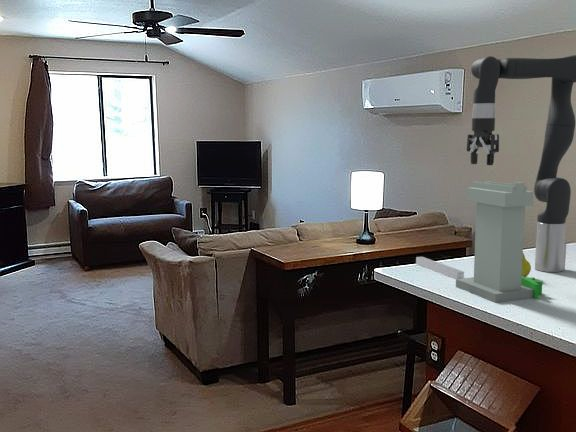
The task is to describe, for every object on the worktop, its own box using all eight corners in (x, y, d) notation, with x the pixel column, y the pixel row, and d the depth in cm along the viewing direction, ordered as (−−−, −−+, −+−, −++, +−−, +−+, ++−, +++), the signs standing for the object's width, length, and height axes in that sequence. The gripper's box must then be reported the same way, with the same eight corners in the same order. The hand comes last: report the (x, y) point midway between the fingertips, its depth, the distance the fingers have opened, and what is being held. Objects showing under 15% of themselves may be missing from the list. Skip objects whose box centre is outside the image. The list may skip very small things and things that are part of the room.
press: (491, 282, 193) (496, 177, 188) (533, 297, 175) (539, 181, 170) (455, 286, 188) (459, 178, 183) (494, 302, 170) (499, 183, 166)
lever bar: (421, 263, 222) (422, 256, 222) (463, 279, 198) (464, 271, 197) (415, 263, 221) (416, 257, 221) (457, 279, 197) (457, 272, 196)
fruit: (508, 274, 203) (510, 240, 202) (529, 276, 201) (531, 242, 199) (509, 279, 197) (510, 244, 195) (530, 281, 195) (532, 245, 193)
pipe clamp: (546, 299, 174) (547, 284, 174) (534, 299, 174) (535, 284, 173) (528, 288, 186) (528, 274, 185) (516, 289, 185) (517, 275, 184)
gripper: (506, 116, 194) (504, 165, 197) (479, 117, 208) (477, 163, 210) (487, 116, 192) (486, 166, 194) (461, 117, 205) (460, 164, 208)
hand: (481, 164), depth 202 cm, fingers open, 8 cm apart
